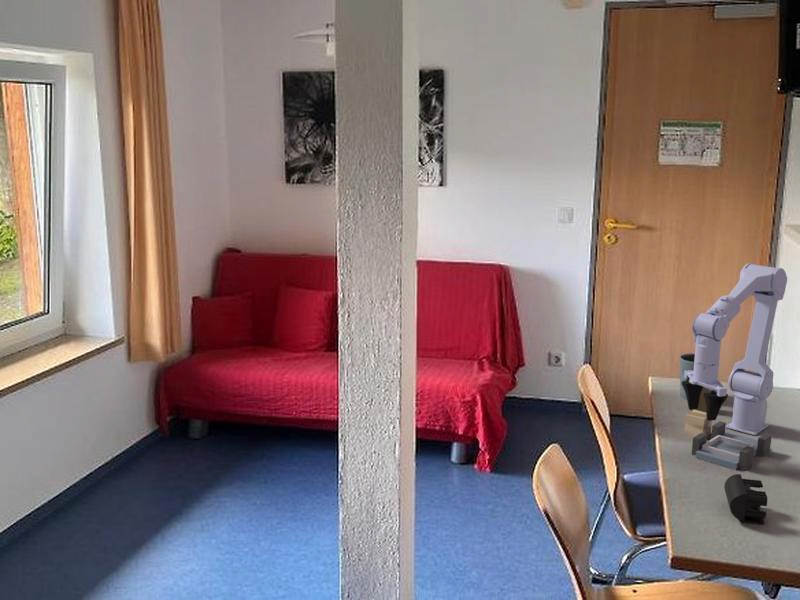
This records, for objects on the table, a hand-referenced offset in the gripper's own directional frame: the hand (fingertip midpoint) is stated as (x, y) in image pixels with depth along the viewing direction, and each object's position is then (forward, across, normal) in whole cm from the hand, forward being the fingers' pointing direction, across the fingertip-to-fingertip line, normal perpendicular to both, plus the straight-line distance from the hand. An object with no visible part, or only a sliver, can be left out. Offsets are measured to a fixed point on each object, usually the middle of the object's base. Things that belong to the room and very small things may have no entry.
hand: (702, 414), depth 208 cm
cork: (+10, -25, +17) cm, 32 cm away
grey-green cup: (+10, -34, +22) cm, 42 cm away
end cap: (+10, +32, -11) cm, 35 cm away
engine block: (+10, -9, +6) cm, 14 cm away
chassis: (+9, +4, +6) cm, 12 cm away
